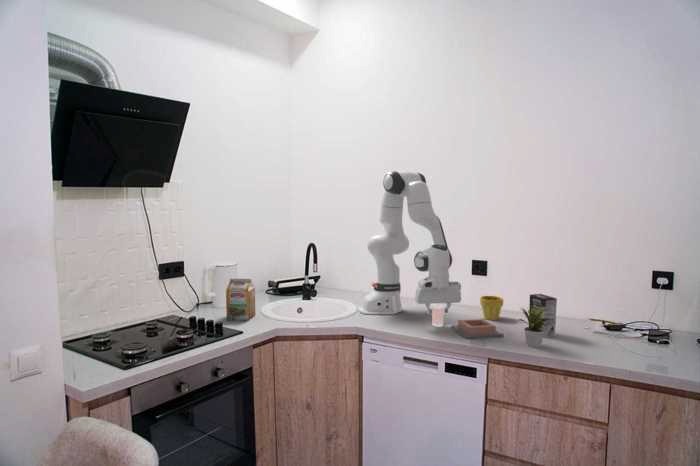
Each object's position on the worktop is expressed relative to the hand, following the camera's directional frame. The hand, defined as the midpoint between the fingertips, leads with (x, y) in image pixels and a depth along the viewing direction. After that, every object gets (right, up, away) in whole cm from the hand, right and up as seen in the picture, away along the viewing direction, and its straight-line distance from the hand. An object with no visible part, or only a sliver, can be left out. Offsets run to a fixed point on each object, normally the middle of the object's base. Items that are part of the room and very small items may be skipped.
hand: (437, 312), depth 202 cm
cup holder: (+15, -7, -7) cm, 18 cm away
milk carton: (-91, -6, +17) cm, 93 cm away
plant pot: (+28, -5, +15) cm, 32 cm away
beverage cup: (0, -6, +1) cm, 6 cm away
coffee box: (+42, -7, -10) cm, 44 cm away
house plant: (+31, -9, -25) cm, 41 cm away
